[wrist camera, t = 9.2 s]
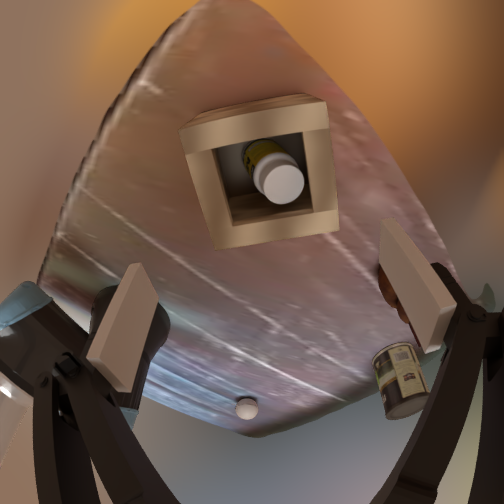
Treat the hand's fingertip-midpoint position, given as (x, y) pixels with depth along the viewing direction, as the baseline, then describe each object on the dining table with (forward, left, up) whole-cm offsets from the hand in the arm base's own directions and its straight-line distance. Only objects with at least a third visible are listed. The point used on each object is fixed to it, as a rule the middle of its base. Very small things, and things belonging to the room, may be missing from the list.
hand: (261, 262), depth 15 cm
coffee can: (+21, -48, -22) cm, 57 cm away
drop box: (0, 0, -22) cm, 22 cm away
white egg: (-15, -57, -22) cm, 63 cm away
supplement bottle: (0, 0, -21) cm, 21 cm away
